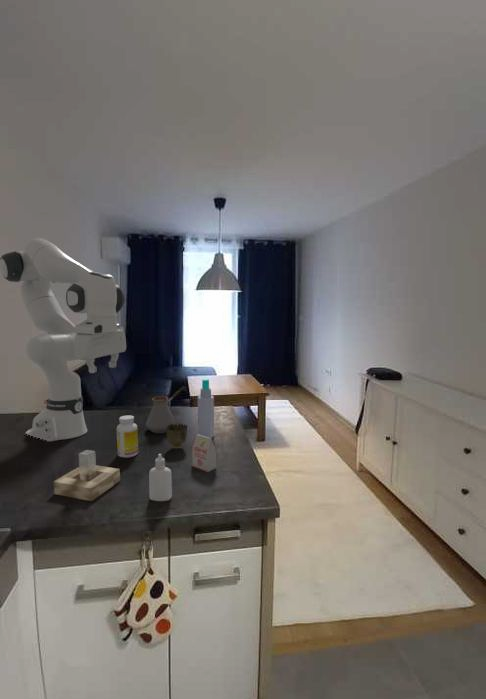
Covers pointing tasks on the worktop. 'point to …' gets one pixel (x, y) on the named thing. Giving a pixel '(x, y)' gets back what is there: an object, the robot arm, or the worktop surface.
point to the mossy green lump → (176, 435)
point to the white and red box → (203, 453)
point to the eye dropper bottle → (160, 481)
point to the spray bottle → (206, 411)
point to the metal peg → (87, 465)
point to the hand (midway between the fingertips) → (103, 369)
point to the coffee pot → (161, 414)
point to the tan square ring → (86, 483)
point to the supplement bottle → (127, 437)
